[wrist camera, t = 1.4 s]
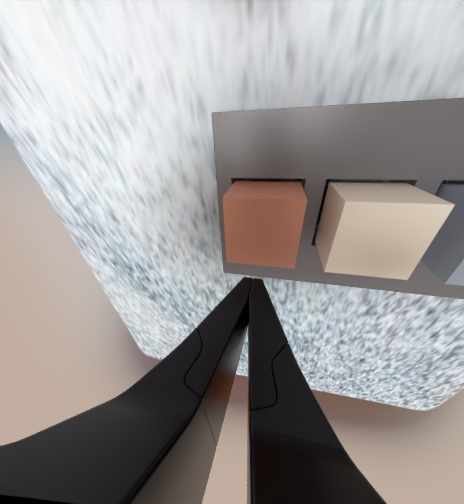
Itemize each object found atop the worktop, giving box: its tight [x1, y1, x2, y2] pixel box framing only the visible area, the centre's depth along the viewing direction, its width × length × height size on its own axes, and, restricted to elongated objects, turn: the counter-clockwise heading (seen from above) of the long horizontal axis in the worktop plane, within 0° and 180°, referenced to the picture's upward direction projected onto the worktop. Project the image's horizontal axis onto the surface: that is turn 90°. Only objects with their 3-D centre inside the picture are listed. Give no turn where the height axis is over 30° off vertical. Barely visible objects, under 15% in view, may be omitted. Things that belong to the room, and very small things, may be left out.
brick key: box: [222, 181, 307, 269], centre depth 14 cm, size 5×5×4 cm
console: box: [212, 98, 464, 299], centre depth 16 cm, size 22×14×3 cm, turn 92°
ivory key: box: [315, 182, 455, 280], centre depth 13 cm, size 5×5×4 cm
